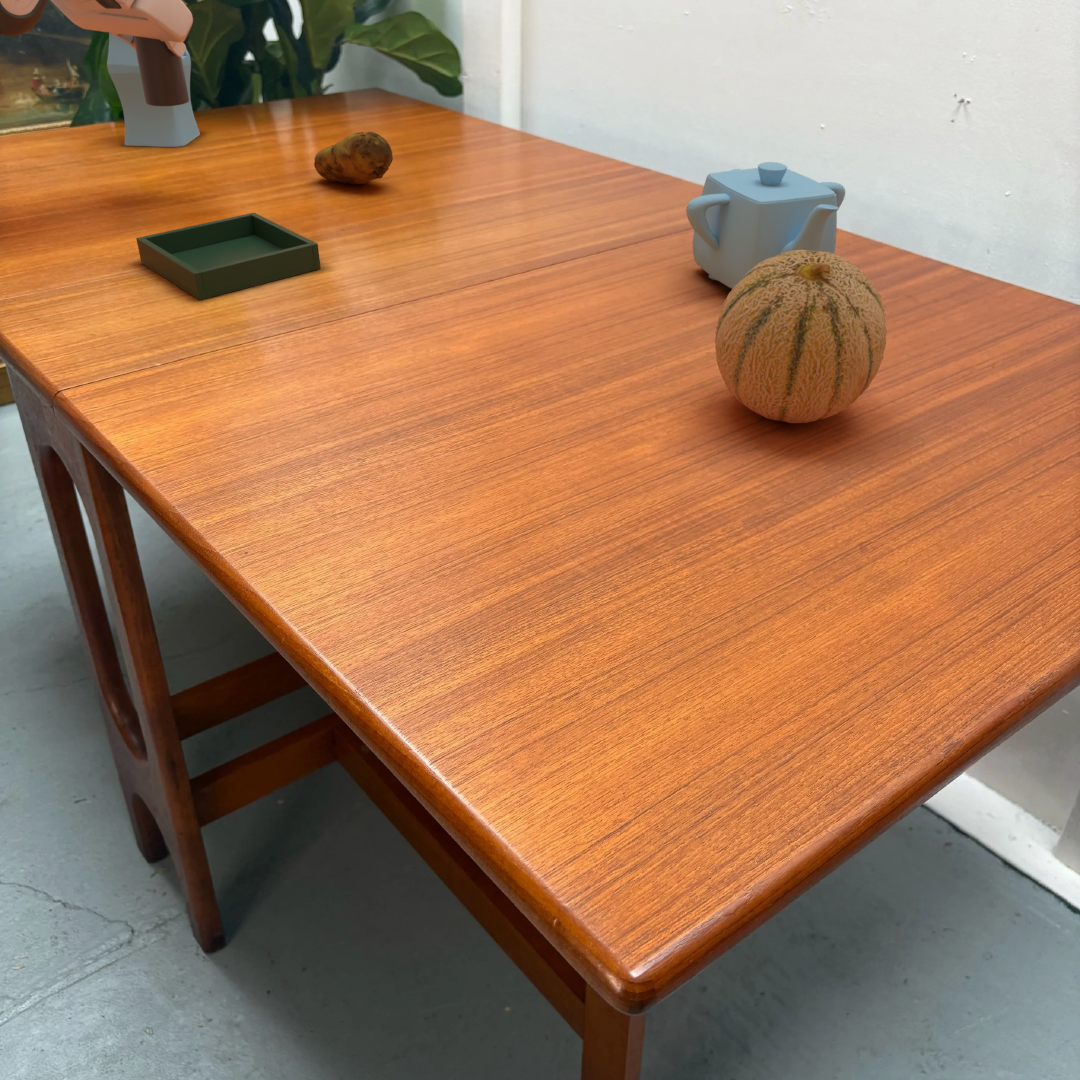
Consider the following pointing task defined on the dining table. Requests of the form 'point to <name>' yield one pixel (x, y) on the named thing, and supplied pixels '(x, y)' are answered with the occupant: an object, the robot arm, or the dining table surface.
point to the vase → (143, 119)
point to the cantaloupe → (801, 336)
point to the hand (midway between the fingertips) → (162, 49)
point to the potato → (355, 159)
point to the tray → (228, 255)
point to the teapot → (760, 218)
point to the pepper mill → (160, 73)
